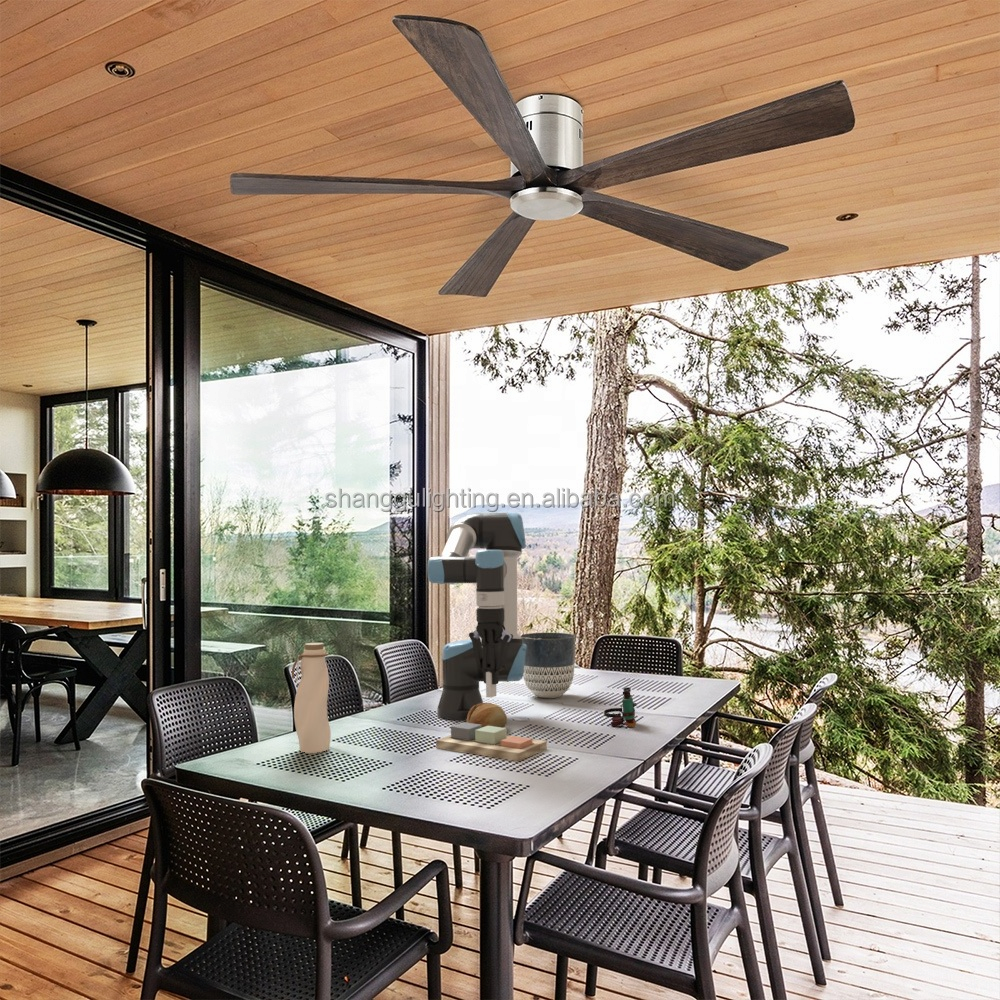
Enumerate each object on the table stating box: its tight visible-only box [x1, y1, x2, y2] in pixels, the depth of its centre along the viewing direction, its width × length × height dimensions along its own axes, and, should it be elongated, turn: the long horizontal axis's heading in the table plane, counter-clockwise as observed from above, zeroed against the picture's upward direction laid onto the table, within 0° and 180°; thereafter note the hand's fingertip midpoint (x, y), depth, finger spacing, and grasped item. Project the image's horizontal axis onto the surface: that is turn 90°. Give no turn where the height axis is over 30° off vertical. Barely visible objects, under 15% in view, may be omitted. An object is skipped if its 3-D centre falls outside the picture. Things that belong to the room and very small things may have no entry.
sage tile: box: [475, 726, 508, 745], centre depth 212 cm, size 6×6×3 cm
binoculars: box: [603, 686, 638, 728], centre depth 237 cm, size 9×11×10 cm
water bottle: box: [291, 642, 332, 754], centre depth 213 cm, size 10×9×28 cm
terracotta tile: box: [501, 735, 533, 749], centre depth 207 cm, size 6×6×3 cm
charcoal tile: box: [450, 721, 482, 741], centre depth 216 cm, size 6×6×3 cm
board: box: [435, 734, 548, 762], centre depth 212 cm, size 26×14×2 cm, turn 57°
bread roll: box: [466, 702, 508, 728], centre depth 231 cm, size 10×15×8 cm, turn 146°
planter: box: [519, 632, 576, 699], centre depth 281 cm, size 20×20×21 cm
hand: (491, 696), depth 212 cm, fingers closed
